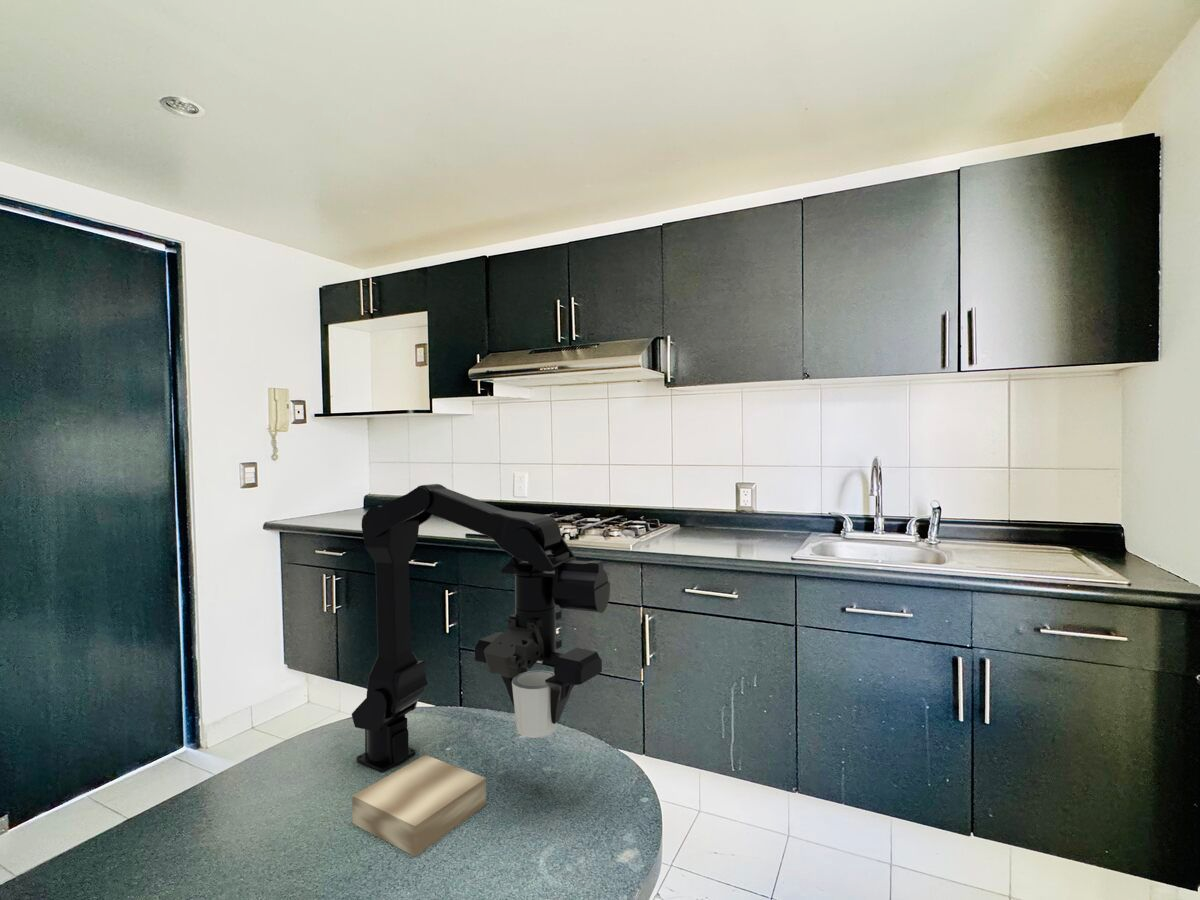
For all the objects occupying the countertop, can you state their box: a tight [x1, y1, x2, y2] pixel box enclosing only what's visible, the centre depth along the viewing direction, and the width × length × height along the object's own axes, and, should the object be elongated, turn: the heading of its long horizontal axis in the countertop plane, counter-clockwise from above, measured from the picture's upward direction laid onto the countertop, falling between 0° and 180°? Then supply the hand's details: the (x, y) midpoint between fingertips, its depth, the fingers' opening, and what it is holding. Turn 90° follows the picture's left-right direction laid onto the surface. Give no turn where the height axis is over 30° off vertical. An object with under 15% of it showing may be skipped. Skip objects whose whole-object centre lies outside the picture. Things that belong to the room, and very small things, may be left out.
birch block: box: [351, 754, 487, 857], centre depth 78 cm, size 12×12×4 cm
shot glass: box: [512, 670, 558, 739], centre depth 83 cm, size 7×7×7 cm
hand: (536, 717), depth 83 cm, fingers closed on shot glass, 6 cm apart
